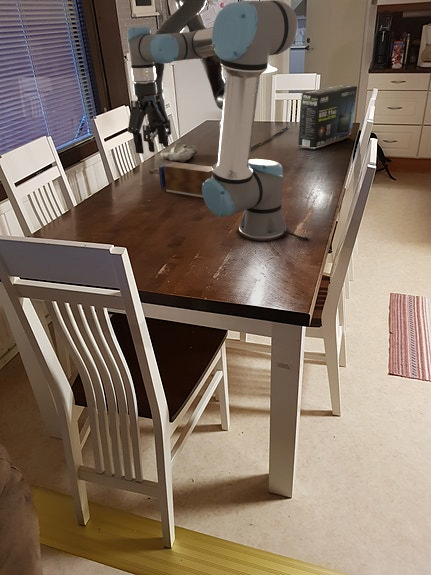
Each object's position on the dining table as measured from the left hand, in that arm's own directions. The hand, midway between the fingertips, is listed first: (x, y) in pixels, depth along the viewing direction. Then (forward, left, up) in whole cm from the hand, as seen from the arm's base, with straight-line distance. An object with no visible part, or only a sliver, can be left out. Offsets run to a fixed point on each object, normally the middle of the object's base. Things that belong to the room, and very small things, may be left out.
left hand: (158, 149), depth 183 cm
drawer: (0, +8, -15) cm, 17 cm away
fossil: (-43, -15, -16) cm, 48 cm away
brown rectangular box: (+1, +14, -16) cm, 21 cm away
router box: (-91, +48, -16) cm, 104 cm away
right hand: (+22, +10, +6) cm, 25 cm away
